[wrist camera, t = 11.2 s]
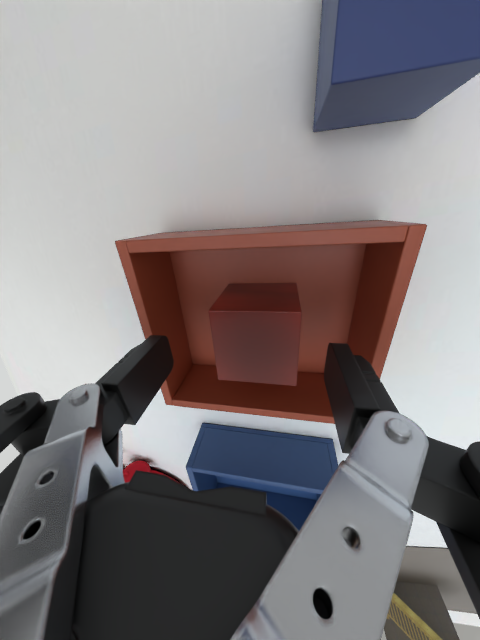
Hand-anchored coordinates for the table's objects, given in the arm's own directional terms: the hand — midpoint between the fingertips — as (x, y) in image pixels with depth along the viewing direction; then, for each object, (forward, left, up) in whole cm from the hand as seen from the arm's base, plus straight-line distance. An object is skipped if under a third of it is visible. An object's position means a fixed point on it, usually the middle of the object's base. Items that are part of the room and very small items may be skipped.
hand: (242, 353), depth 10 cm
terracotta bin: (0, 0, -6) cm, 6 cm away
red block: (+1, 0, -5) cm, 5 cm away
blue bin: (0, -19, -6) cm, 20 cm away
